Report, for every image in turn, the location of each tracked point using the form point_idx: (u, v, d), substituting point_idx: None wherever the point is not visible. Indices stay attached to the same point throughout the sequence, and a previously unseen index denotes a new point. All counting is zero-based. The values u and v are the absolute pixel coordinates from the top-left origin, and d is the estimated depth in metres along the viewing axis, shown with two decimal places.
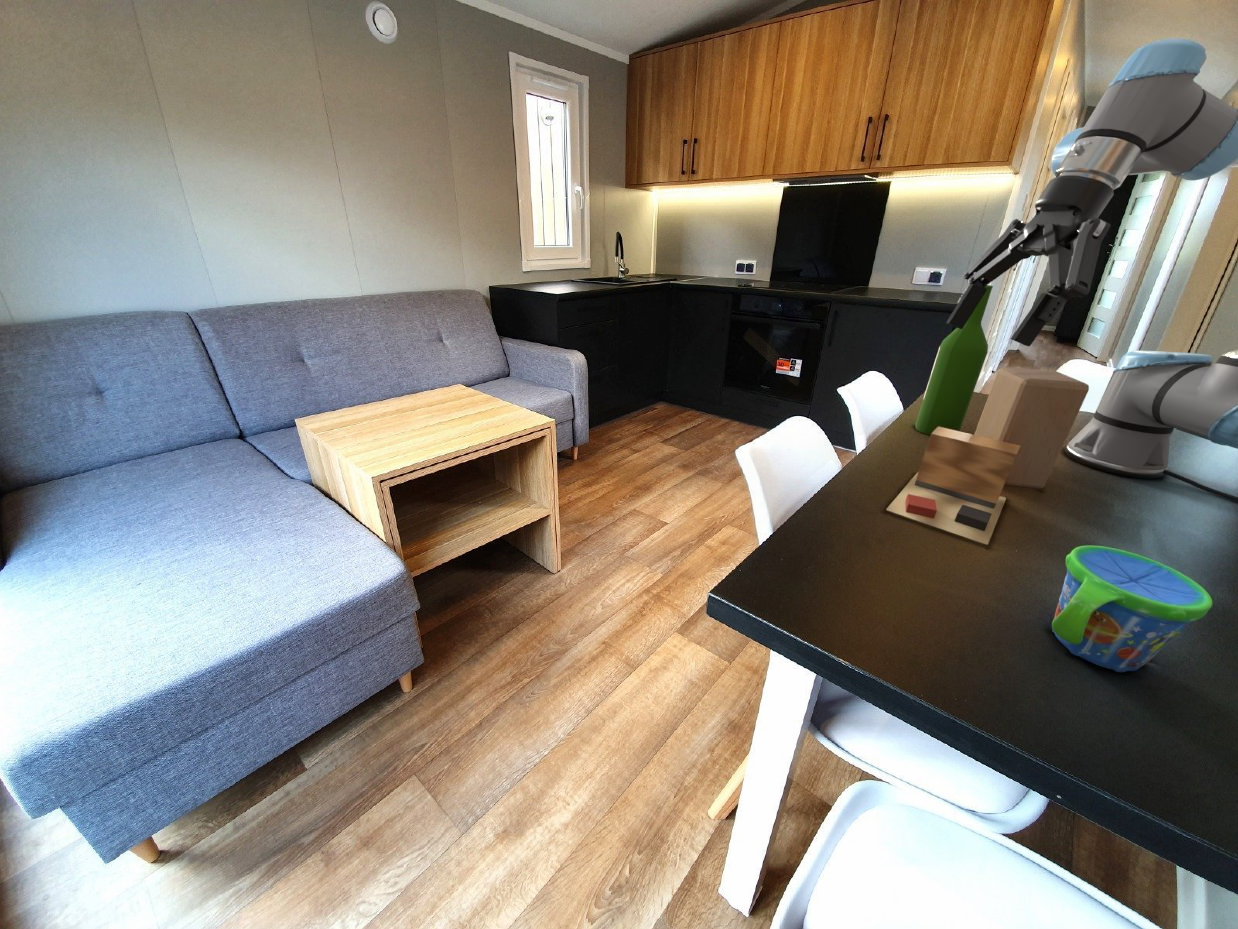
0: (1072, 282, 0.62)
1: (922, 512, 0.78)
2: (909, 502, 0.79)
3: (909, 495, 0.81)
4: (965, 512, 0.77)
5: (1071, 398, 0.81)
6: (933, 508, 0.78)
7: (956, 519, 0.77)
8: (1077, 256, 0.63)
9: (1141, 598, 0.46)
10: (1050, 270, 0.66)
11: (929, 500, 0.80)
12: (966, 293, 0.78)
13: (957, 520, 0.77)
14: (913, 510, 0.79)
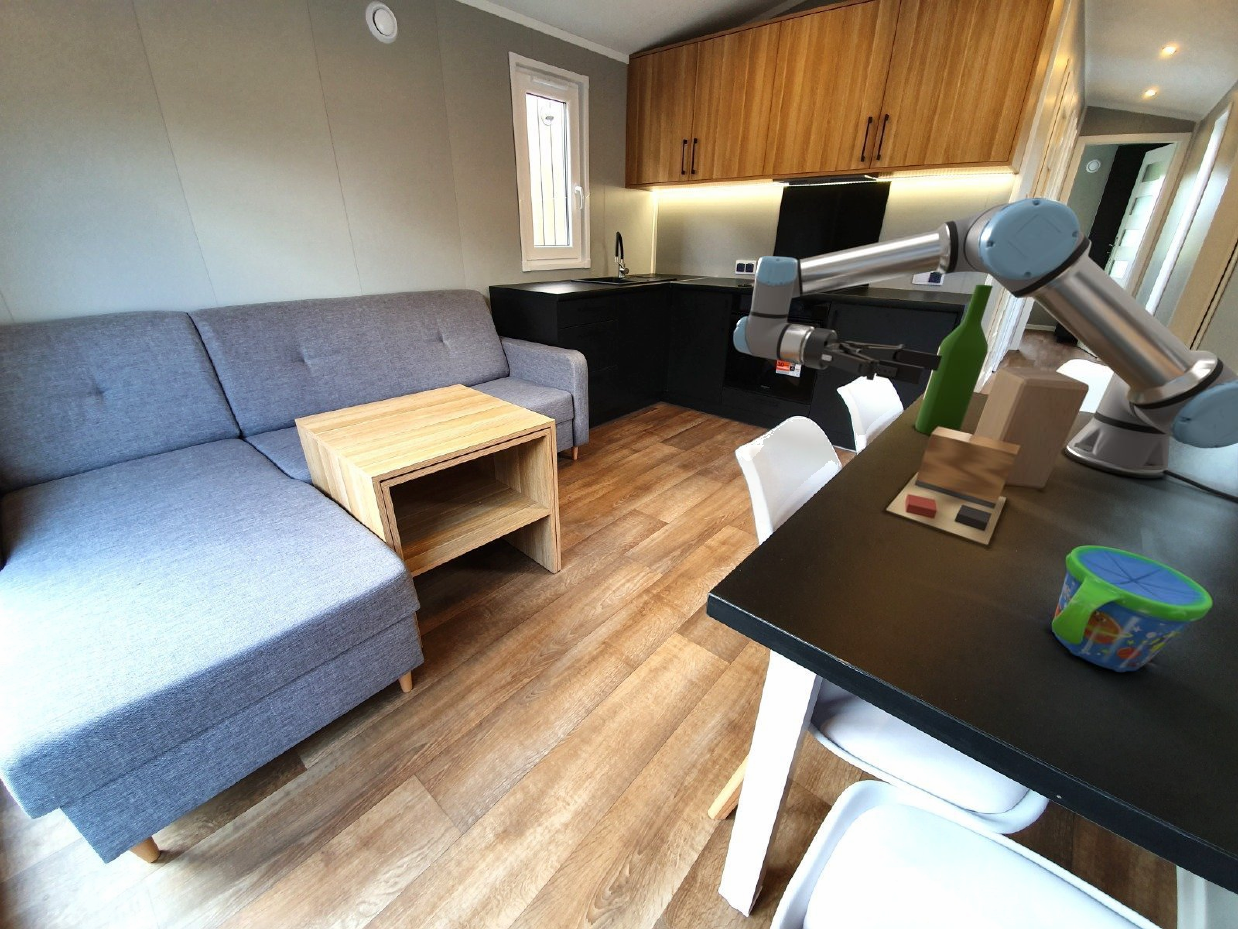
0: None
1: (922, 512, 0.78)
2: (909, 502, 0.79)
3: (909, 495, 0.81)
4: (965, 512, 0.77)
5: (1071, 398, 0.81)
6: (933, 508, 0.78)
7: (956, 519, 0.77)
8: None
9: (1141, 598, 0.46)
10: None
11: (929, 500, 0.80)
12: None
13: (957, 520, 0.77)
14: (913, 510, 0.79)
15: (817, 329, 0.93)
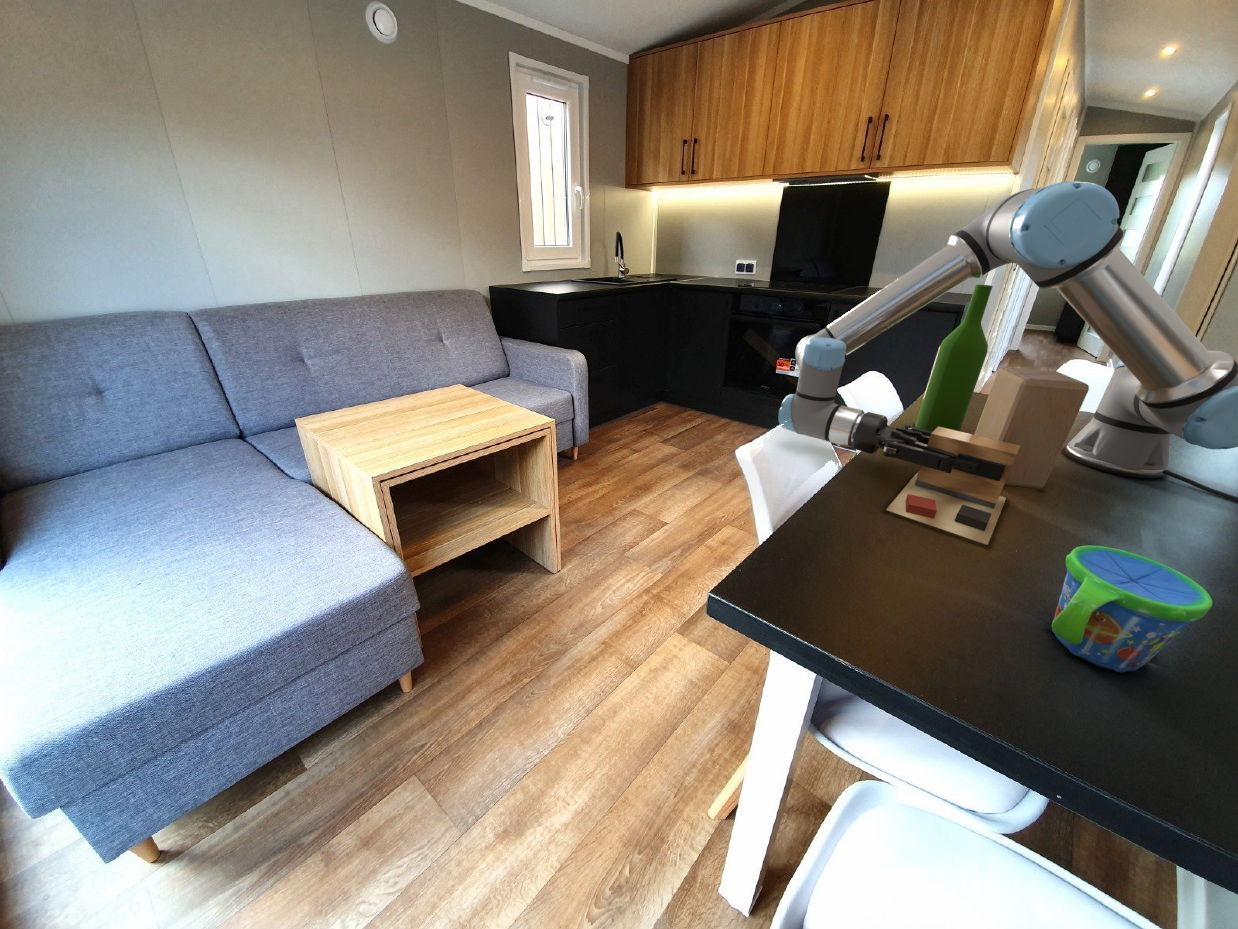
0: None
1: (922, 512, 0.78)
2: (909, 502, 0.79)
3: (909, 495, 0.81)
4: (965, 512, 0.77)
5: (1071, 398, 0.81)
6: (933, 508, 0.78)
7: (956, 519, 0.77)
8: None
9: (1141, 598, 0.46)
10: None
11: (929, 500, 0.80)
12: None
13: (957, 520, 0.77)
14: (913, 510, 0.79)
15: (868, 414, 0.91)
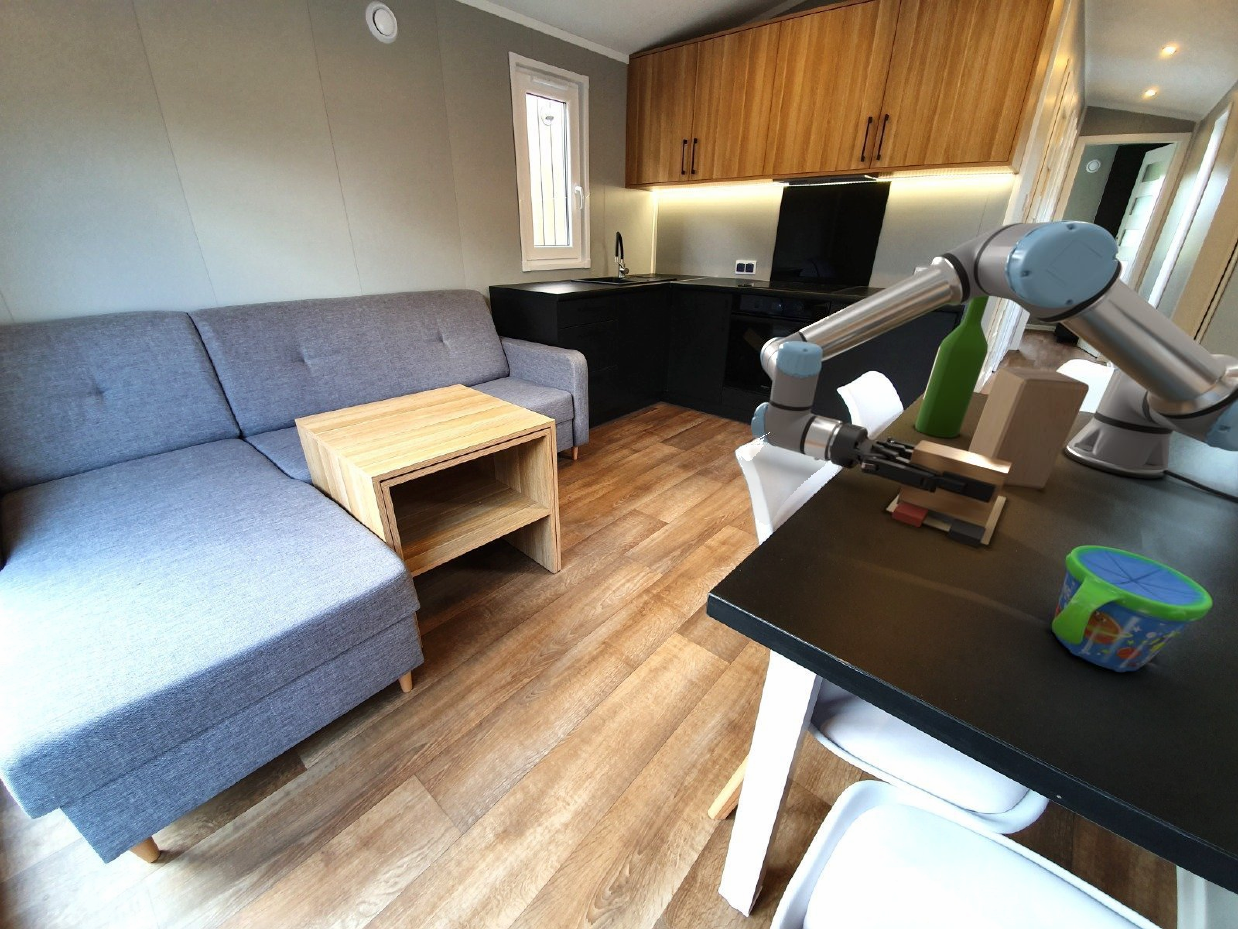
0: None
1: (907, 520, 0.76)
2: (896, 508, 0.77)
3: (901, 502, 0.79)
4: (958, 527, 0.72)
5: (1071, 398, 0.81)
6: (920, 517, 0.75)
7: (948, 535, 0.72)
8: None
9: (1141, 598, 0.46)
10: None
11: (921, 509, 0.77)
12: None
13: (949, 536, 0.72)
14: (899, 517, 0.77)
15: (846, 426, 0.83)
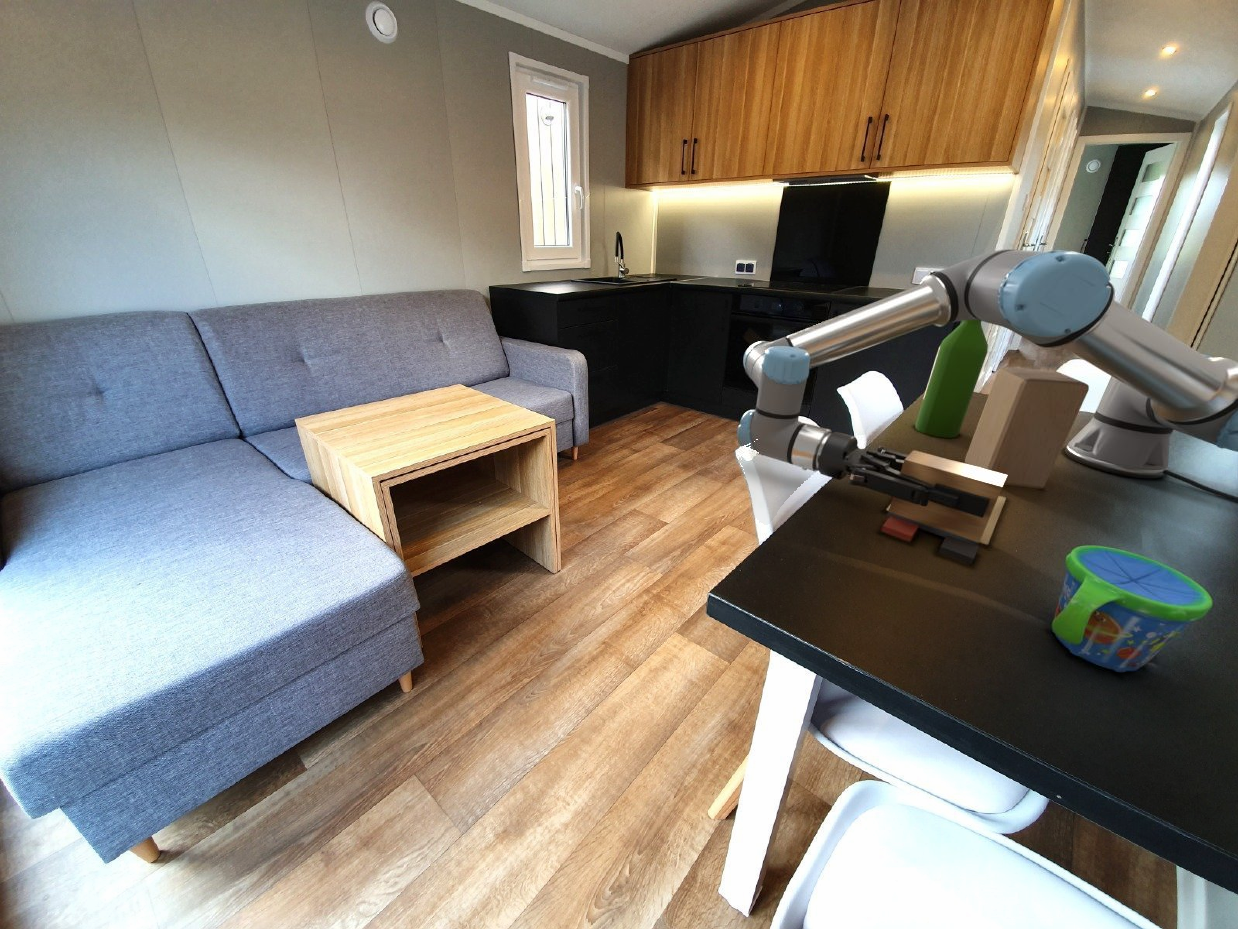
0: None
1: (896, 536, 0.72)
2: (885, 524, 0.74)
3: (891, 517, 0.76)
4: (950, 545, 0.69)
5: (1071, 398, 0.81)
6: (909, 533, 0.72)
7: None
8: None
9: (1141, 598, 0.46)
10: None
11: (912, 525, 0.74)
12: None
13: None
14: (888, 533, 0.73)
15: (834, 435, 0.80)
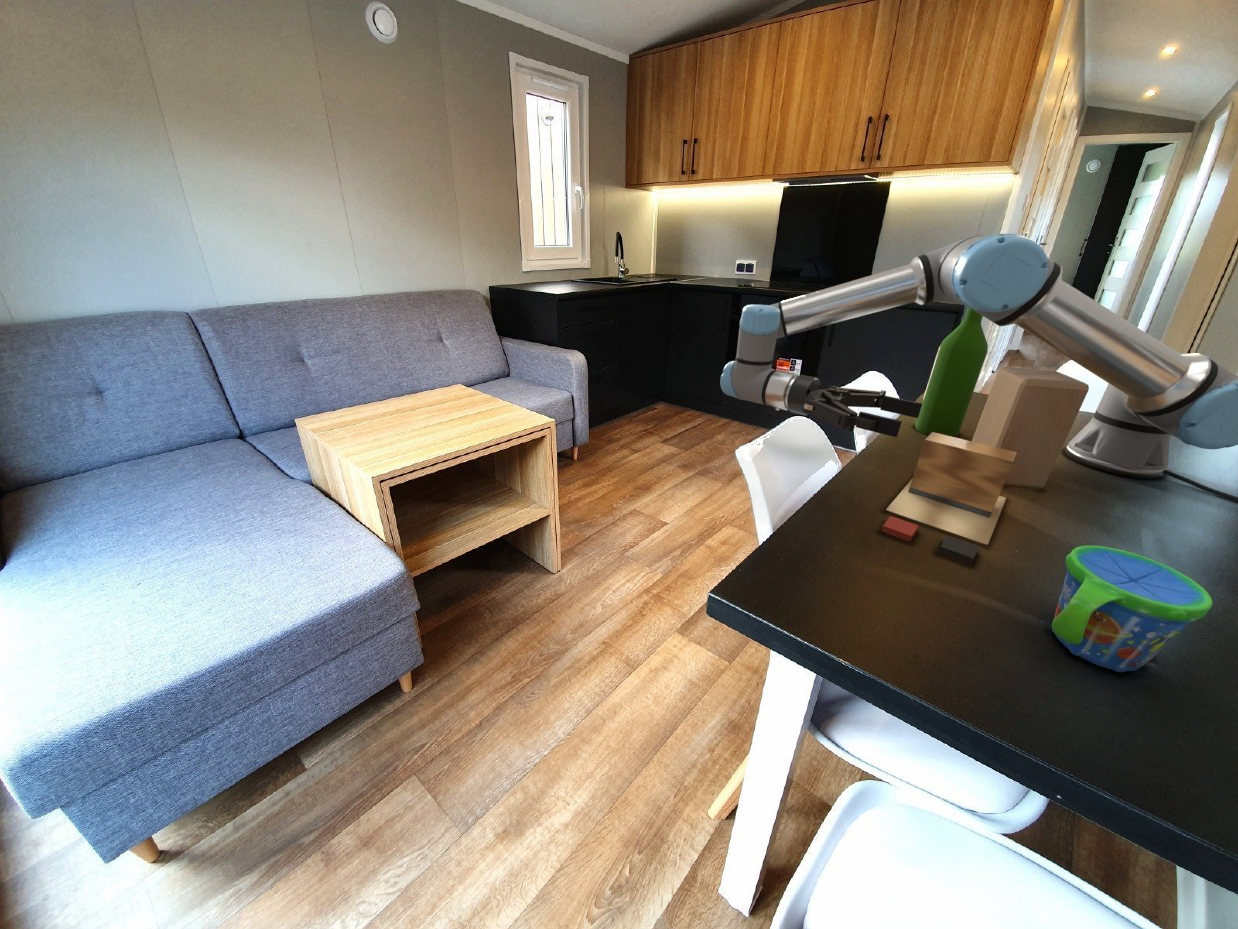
0: None
1: (896, 536, 0.72)
2: (885, 524, 0.74)
3: (891, 517, 0.76)
4: (950, 545, 0.69)
5: (1071, 398, 0.81)
6: (909, 533, 0.72)
7: None
8: None
9: (1141, 598, 0.46)
10: None
11: (912, 525, 0.74)
12: None
13: None
14: (888, 533, 0.73)
15: (800, 377, 0.95)
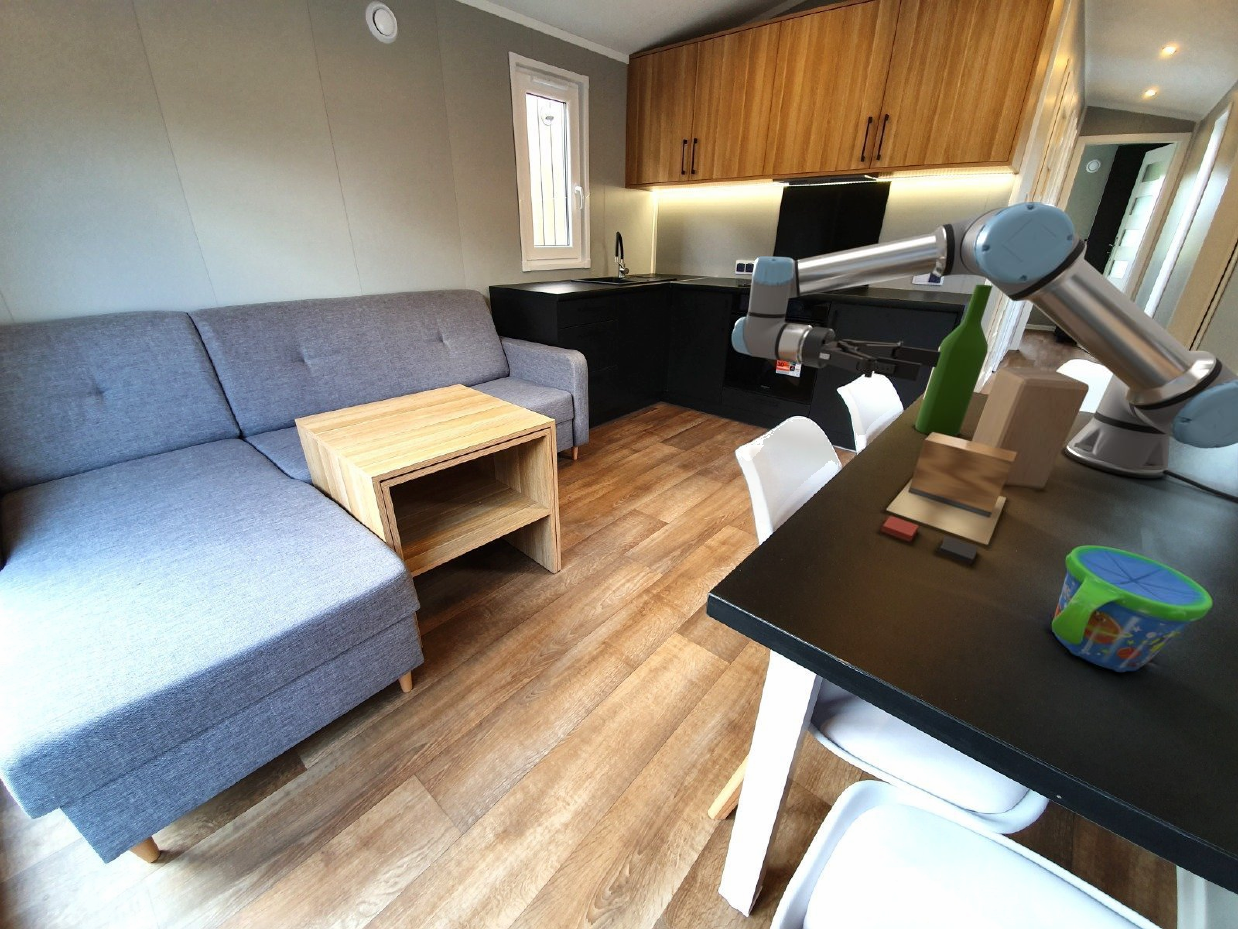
0: None
1: (896, 536, 0.72)
2: (885, 524, 0.74)
3: (891, 517, 0.76)
4: (949, 546, 0.69)
5: (1071, 398, 0.81)
6: (910, 533, 0.72)
7: None
8: None
9: (1141, 598, 0.46)
10: None
11: (912, 525, 0.74)
12: None
13: None
14: (888, 533, 0.73)
15: (815, 328, 0.93)
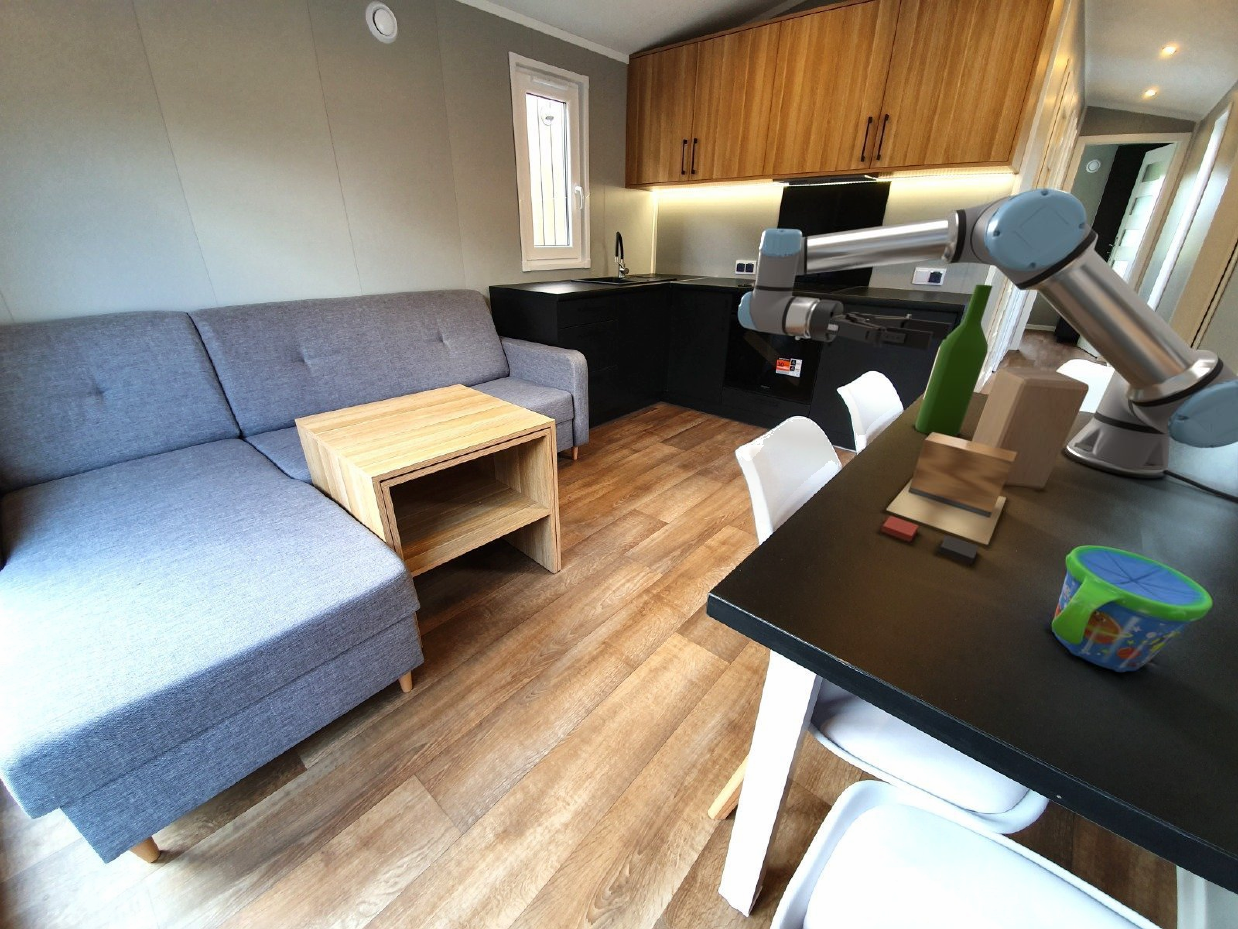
0: (867, 342, 0.81)
1: (896, 536, 0.72)
2: (885, 524, 0.74)
3: (891, 517, 0.75)
4: (950, 545, 0.69)
5: (1071, 398, 0.81)
6: (909, 533, 0.72)
7: None
8: None
9: (1141, 598, 0.46)
10: None
11: (912, 525, 0.74)
12: None
13: None
14: (888, 533, 0.73)
15: (823, 300, 0.92)
